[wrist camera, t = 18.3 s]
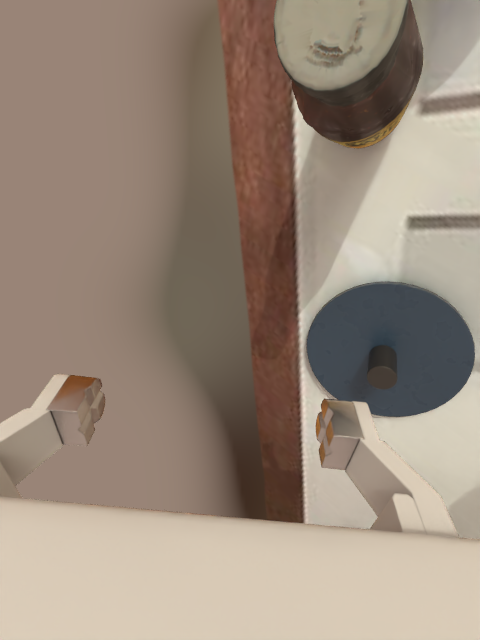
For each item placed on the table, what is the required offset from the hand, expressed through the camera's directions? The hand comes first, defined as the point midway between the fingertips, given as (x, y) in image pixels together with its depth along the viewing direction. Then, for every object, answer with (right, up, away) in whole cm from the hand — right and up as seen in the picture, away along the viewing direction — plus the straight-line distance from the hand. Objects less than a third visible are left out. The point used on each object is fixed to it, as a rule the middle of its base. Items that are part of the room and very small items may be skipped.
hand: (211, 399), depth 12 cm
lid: (+16, -1, +22) cm, 27 cm away
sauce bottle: (+11, +20, +15) cm, 27 cm away
